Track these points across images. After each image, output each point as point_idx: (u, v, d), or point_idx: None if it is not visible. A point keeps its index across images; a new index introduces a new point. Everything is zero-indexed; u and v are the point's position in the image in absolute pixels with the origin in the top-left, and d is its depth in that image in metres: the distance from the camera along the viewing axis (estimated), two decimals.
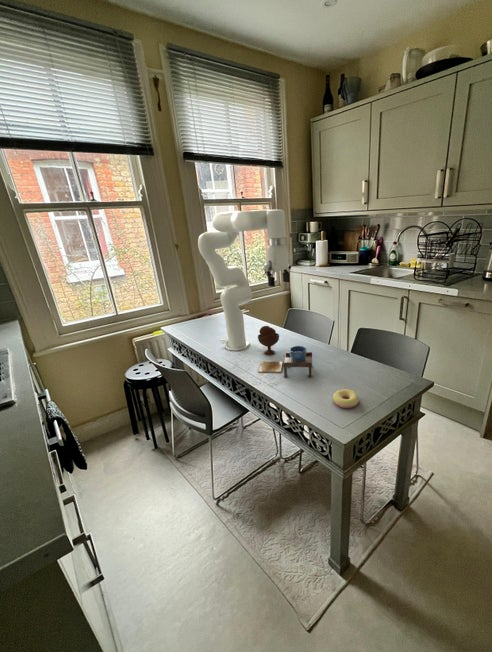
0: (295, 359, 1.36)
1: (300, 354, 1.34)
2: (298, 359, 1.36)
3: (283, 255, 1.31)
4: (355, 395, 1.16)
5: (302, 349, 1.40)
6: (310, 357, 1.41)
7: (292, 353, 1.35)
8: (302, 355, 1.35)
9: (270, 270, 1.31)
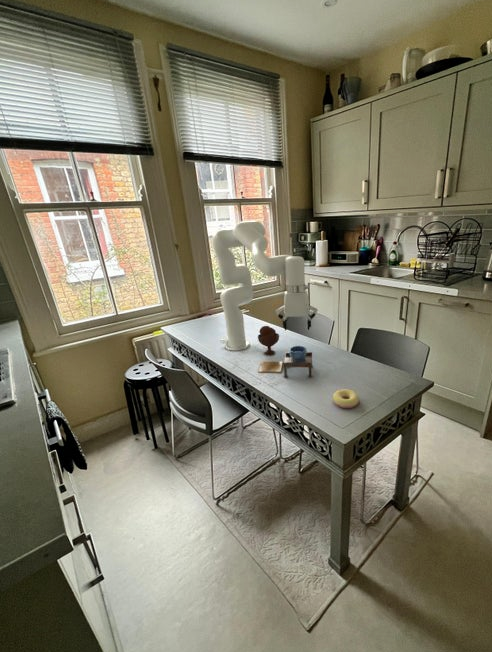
0: (295, 359, 1.36)
1: (300, 354, 1.34)
2: (298, 359, 1.36)
3: (297, 302, 1.26)
4: (355, 395, 1.16)
5: (302, 349, 1.40)
6: (310, 357, 1.41)
7: (292, 353, 1.35)
8: (302, 355, 1.35)
9: None
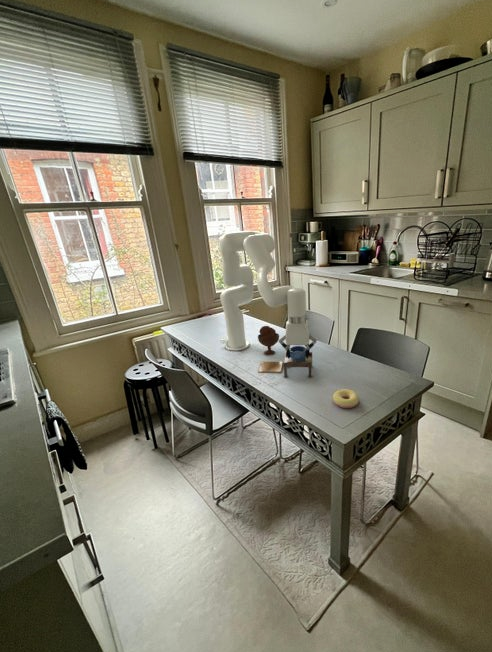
0: (295, 359, 1.36)
1: (300, 354, 1.34)
2: (298, 359, 1.36)
3: (298, 332, 1.31)
4: (355, 395, 1.16)
5: (302, 349, 1.40)
6: (310, 357, 1.41)
7: (292, 353, 1.35)
8: (302, 355, 1.35)
9: None
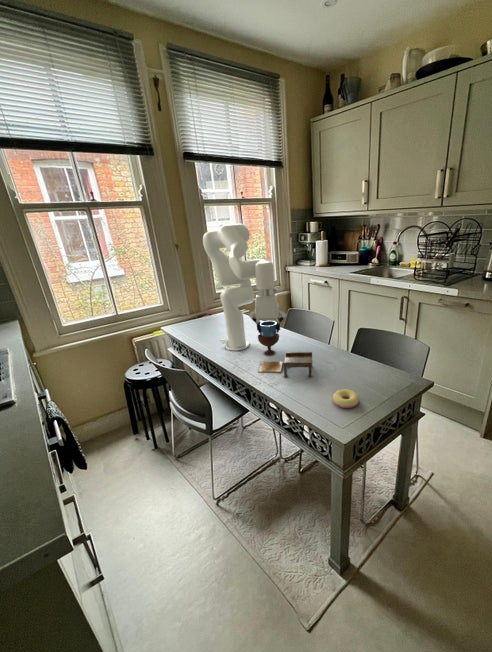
0: (265, 333, 1.36)
1: (270, 328, 1.35)
2: (268, 333, 1.36)
3: (267, 305, 1.32)
4: (355, 395, 1.16)
5: (273, 324, 1.40)
6: (310, 357, 1.41)
7: (262, 327, 1.36)
8: (272, 329, 1.35)
9: None
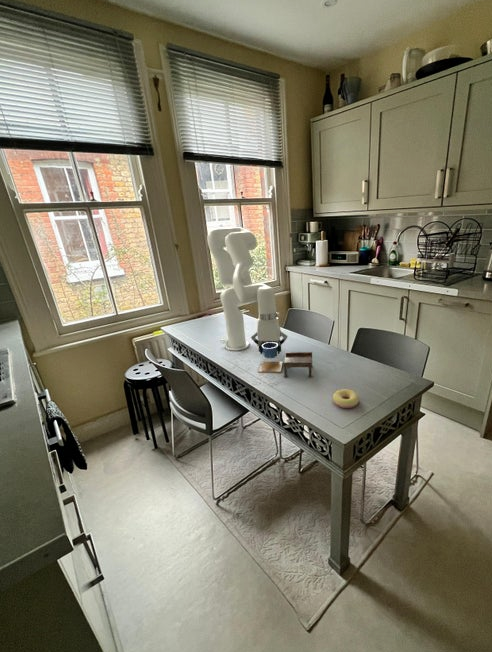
0: (267, 355, 1.41)
1: (271, 350, 1.39)
2: (270, 355, 1.40)
3: (269, 328, 1.36)
4: (355, 395, 1.16)
5: (274, 345, 1.45)
6: (310, 357, 1.41)
7: (264, 349, 1.40)
8: (273, 351, 1.40)
9: None
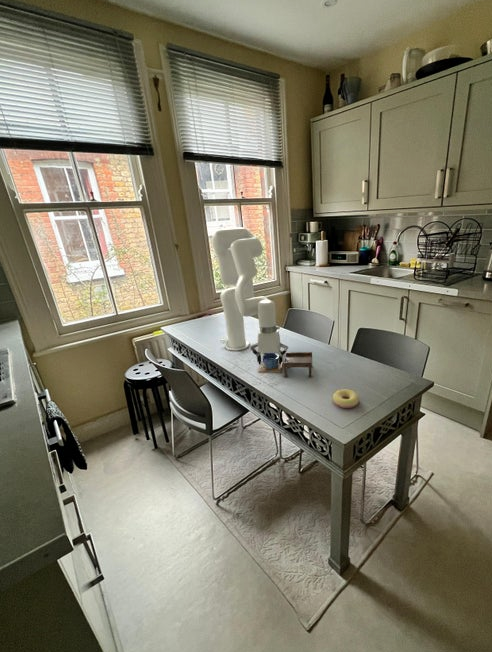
0: (268, 366, 1.43)
1: (272, 361, 1.41)
2: (270, 366, 1.43)
3: (269, 341, 1.39)
4: (355, 395, 1.16)
5: (275, 356, 1.47)
6: (310, 357, 1.41)
7: (264, 360, 1.42)
8: (274, 362, 1.42)
9: None
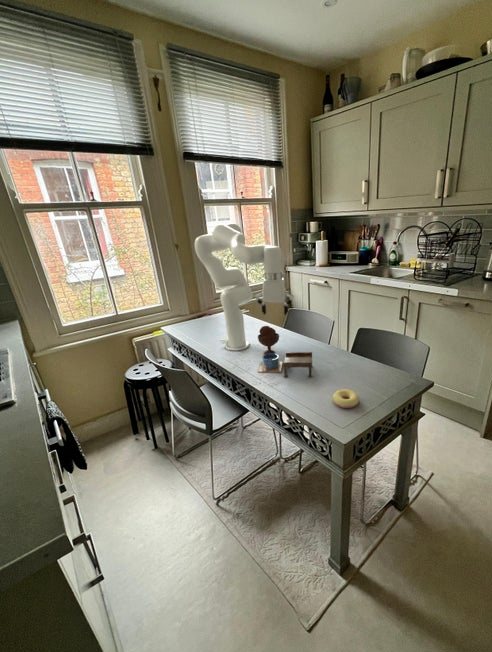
0: (268, 366, 1.43)
1: (272, 361, 1.41)
2: (270, 366, 1.43)
3: (274, 289, 1.37)
4: (355, 395, 1.16)
5: (275, 356, 1.47)
6: (310, 357, 1.41)
7: (264, 360, 1.42)
8: (274, 362, 1.42)
9: None
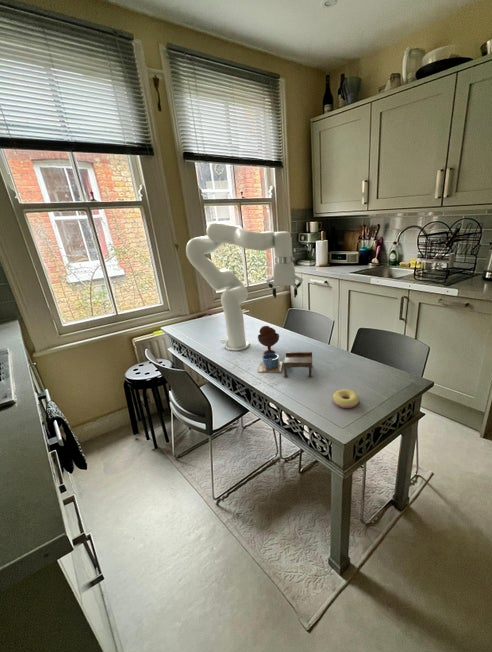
0: (268, 366, 1.43)
1: (272, 361, 1.41)
2: (270, 366, 1.43)
3: (285, 272, 1.44)
4: (355, 395, 1.16)
5: (275, 356, 1.47)
6: (310, 357, 1.41)
7: (264, 360, 1.42)
8: (274, 362, 1.42)
9: None
